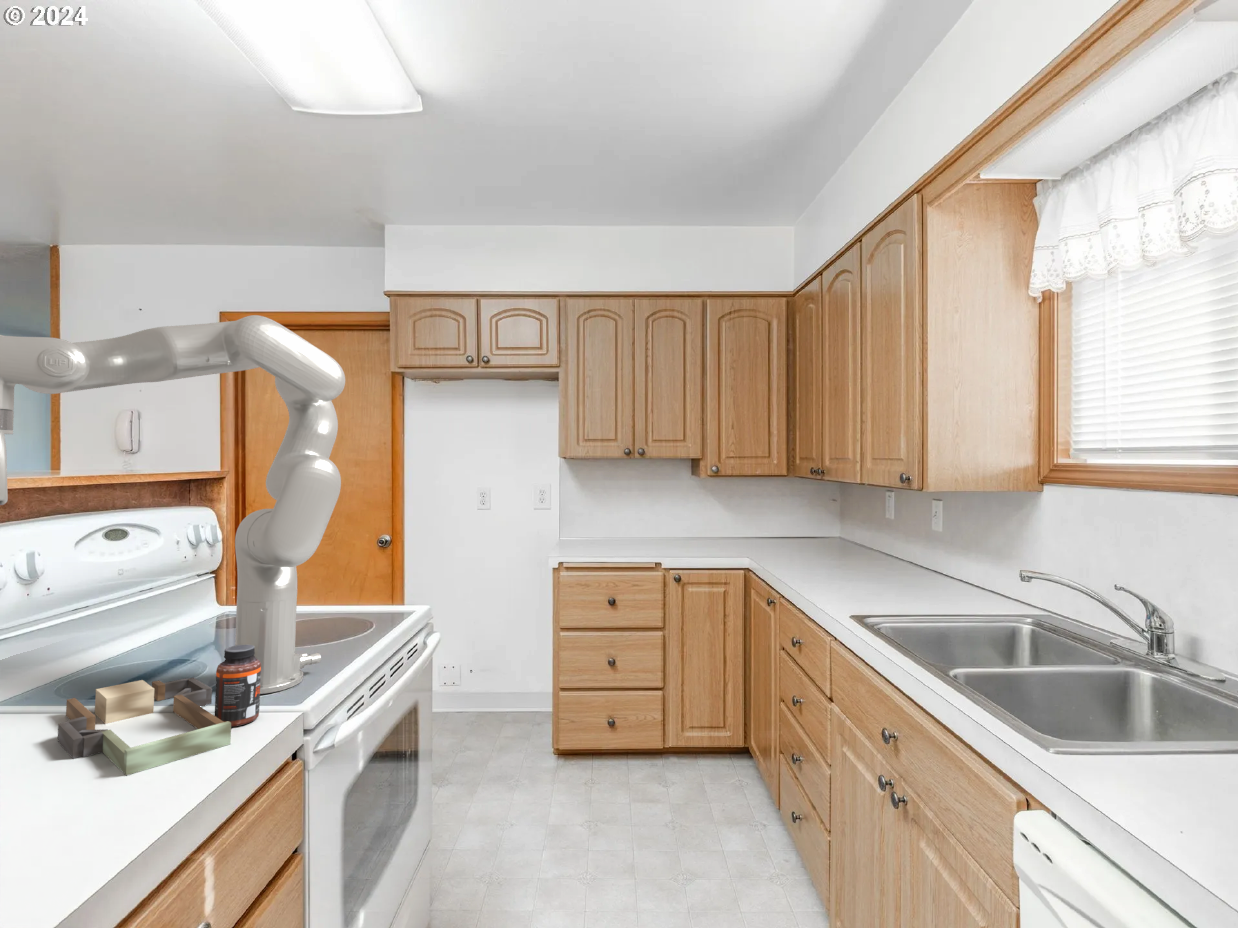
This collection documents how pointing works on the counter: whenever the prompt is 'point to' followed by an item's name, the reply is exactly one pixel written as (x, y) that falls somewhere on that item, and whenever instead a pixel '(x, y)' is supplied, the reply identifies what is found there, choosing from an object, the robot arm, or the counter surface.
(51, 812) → the counter surface
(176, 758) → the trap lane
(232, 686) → the supplement bottle
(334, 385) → the robot arm
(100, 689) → the block
